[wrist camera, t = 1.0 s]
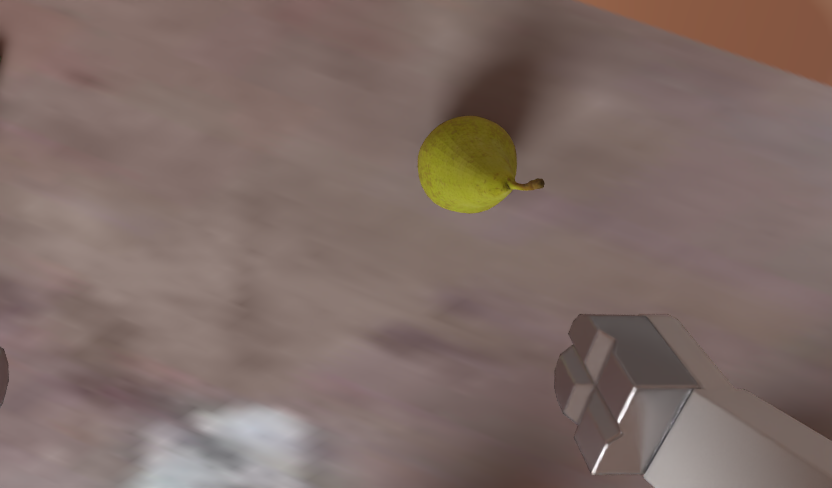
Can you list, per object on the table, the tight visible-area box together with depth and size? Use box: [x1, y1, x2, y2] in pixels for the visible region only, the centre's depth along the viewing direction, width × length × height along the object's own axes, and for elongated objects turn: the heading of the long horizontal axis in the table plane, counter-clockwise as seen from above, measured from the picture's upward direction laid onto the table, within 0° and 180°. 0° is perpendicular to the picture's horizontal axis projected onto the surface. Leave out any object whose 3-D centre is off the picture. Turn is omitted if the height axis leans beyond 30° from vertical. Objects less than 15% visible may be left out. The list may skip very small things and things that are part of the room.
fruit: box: [418, 116, 544, 213], centre depth 30 cm, size 6×6×12 cm
